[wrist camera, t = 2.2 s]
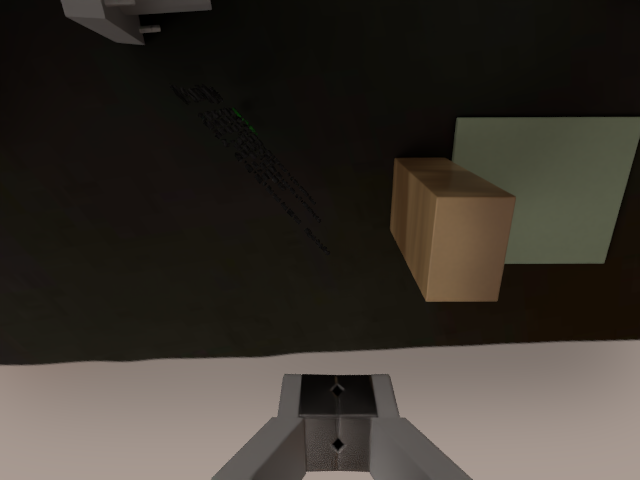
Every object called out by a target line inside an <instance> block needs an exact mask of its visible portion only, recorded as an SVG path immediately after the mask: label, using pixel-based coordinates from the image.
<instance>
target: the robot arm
mask: <svg viewBox="0 0 640 480" xmlns="http://www.w3.org/2000/svg"><path fill="white" fill-rule="evenodd" d="M307 471H362V472H363V471H364V472H370V474H371V476H372V477H373V479H374V480H473V479H471V478H470V477H469V476H468V475H467V474H466V473H465V472H464V471H463V470H461V468H459V467H458V466H457V465H456V464H455V463H454V462H453V461H452V460H451V459H450V458H449V457H447V456H446V455H445V454H444V453H443V452H442V451H441V450H439V448H438V447H436V446H435V445H434V444H433V443H432V442H431V441H430V440H429V439H428V438H427V437H426V436H425V435H423V434H422V433H421V432H420V431H419V430H418V429H417V428H416V427H415V426H414V425H412V424H411V423H410V422H409V421H408V420H407V419H406V418H400V416H399V412H398V408H397V403H396V399H395V395H394V391H393V387H392V383H391V379H390V376H389V375H388V374H374V375H312V374H309V375H308V374H302V375H301V374H285V375H284V377H283V382H282V389H281V396H280V403H279V410H278V416H277V417H273V418H271V419H270V420H269V421H268V422H267V423H266V424H265V425H264V426H263V427H262V428H261V429H260V430H259V431H258V432H257V433H256V434H255V435H254V436H253V437H252V438H251V439H250V440H249V441H248V442H247V443H246V444H245V445H244V446H243V448H241V449H240V450H239V451H238V452H237V453H236V454H235V456H233V457H232V458H231V459H230V460H229V461H228V462H227V463H226V464H225V465H224V466H223V467H222V468H221V469H220V470H219V471H218V472H217V473H216V474H215V476H213V477H212V479H211V480H302V478H303V477H304V476H305V474H306V472H307Z"/></svg>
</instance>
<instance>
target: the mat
mask: <svg viewBox="0 0 640 480" xmlns="http://www.w3.org/2000/svg"><path fill="white" fill-rule="evenodd" d="M639 138H640V117H466V118H456V127H455V136H454V144H453V153H452V162H454V163H455V164H457V165H459V166H461V167H463V168H465V169H466V170H468V171H470V172H472V173H474V174H476V175H477V176H479V177H481V178H483V179H485V180H487V181H488V182H490V183H492V184H494V185H496V186H497V187H499V188H501V189H503V190H505V191H507V192H508V193H510V194H512V195H514V196H516V201H515V207H514V213H513V218H512V224H511V229H510V235H509V240H508V246H507V251H506V257H505V262H504V264H551V263H604V262H605V259H606V255H607V251H608V248H609V244H610V241H611V237H612V234H613V230H614V227H615V223H616V219H617V216H618V212H619V209H620V205H621V202H622V198H623V195H624V191H625V187H626V184H627V180H628V177H629V173H630V170H631V166H632V162H633V159H634V155H635V152H636V148H637V145H638V141H639Z"/></svg>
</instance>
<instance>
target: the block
mask: <svg viewBox="0 0 640 480" xmlns="http://www.w3.org/2000/svg"><path fill="white" fill-rule="evenodd" d="M515 201H516V196H514V195H512V194H510V193H508V192H507V191H505V190H503V189H501V188H499V187H497V186H496V185H494V184H492V183H490V182H488V181H487V180H485V179H483V178H481V177H479V176H477V175H476V174H474V173H472V172H470V171H468V170H466V169H465V168H463V167H461V166H459V165H457V164H455V163H454V162H452V161H450V160H448V159H446V158H395V159H394V175H393V190H392V206H391V222H390V230H391V232H392V234H393V236H394V238H395V240H396V242H397V244H398V246H399V248H400V250H401V252H402V254H403V256H404V258H405V260H406V262H407V264H408V266H409V268H410V270H411V272H412V274H413V276H414V278H415V280H416V282H417V284H418V286H419V288H420V290H421V292H422V294H423V296H424V298H425V300H426V301H427V302H440V301H498V296H499V290H500V284H501V279H502V273H503V268H504V262H505V257H506V251H507V246H508V240H509V235H510V229H511V224H512V218H513V213H514V207H515Z"/></svg>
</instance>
